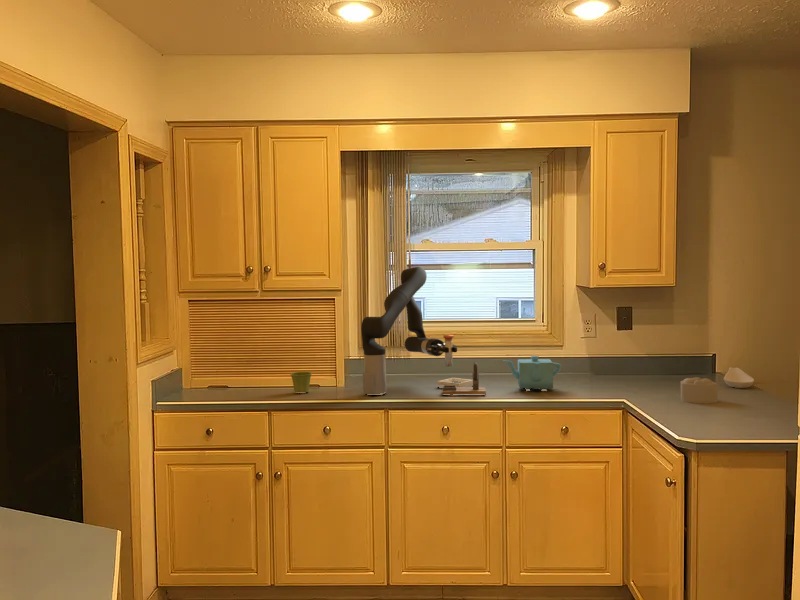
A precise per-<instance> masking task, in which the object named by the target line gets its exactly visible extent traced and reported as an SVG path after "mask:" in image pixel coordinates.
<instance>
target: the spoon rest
mask: <svg viewBox="0 0 800 600" xmlns="http://www.w3.org/2000/svg"><path fill="white" fill-rule="evenodd" d="M723 381H724V383H726V385H727V386H729V387H730V388H732V387H735V388H734V389H747V388H749V387H751V386H752V385H753V384H754V382H755V379H754V378H753V377H752V376H751V375H749V374H748V373H746V372H745V371H744V370H742V369H741V368H739V367H729V368H728V370H727V373H726V374H725V375H724V377H723Z"/></svg>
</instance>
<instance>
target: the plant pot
mask: <svg viewBox="0 0 800 600" xmlns="http://www.w3.org/2000/svg"><path fill="white" fill-rule="evenodd" d="M312 374H313V373H312V372H311V371H299V372H298V371H297V372H291V373H290V377H291V379H292V385H293V391H295V392H308V391H310V382H311V377H312ZM295 392H294V393H295Z"/></svg>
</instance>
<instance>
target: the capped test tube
mask: <svg viewBox="0 0 800 600" xmlns="http://www.w3.org/2000/svg"><path fill="white" fill-rule="evenodd" d="M442 338H443V339H444V343H445V347H448V348H449V353H444V366H445V367H453V352H452V345H453V339H455V336H454V334H444V335H443V337H442Z"/></svg>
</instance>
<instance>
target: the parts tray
mask: <svg viewBox="0 0 800 600" xmlns="http://www.w3.org/2000/svg"><path fill="white" fill-rule="evenodd" d="M452 381H458V382H461V383H454V382H452ZM470 384H473V379H468V378H459V377H450V378H446V379H441V380H437V383H436V385H444V386H449V385H456V387H463V386H467V385H470Z"/></svg>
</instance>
